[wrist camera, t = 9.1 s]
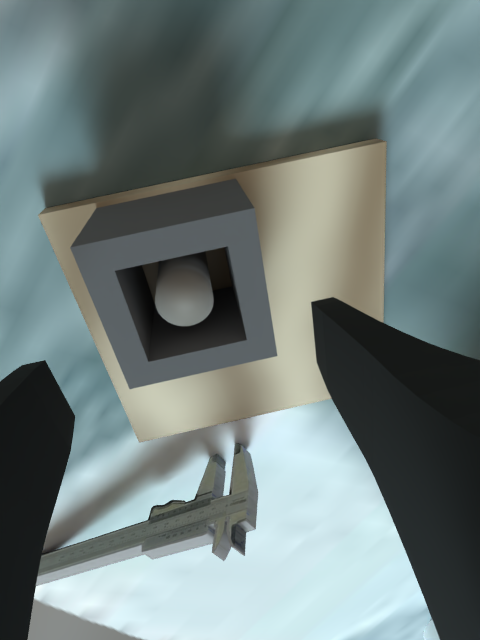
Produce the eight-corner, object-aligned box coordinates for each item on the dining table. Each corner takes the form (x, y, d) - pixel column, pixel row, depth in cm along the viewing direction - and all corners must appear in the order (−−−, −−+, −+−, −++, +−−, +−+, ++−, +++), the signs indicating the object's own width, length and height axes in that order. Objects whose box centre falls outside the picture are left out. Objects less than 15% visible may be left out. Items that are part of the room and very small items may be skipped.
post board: (375, 138, 17) (444, 156, 12) (374, 375, 23) (418, 440, 19) (45, 208, 16) (-2, 251, 12) (140, 429, 23) (132, 507, 19)
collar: (235, 178, 16) (254, 207, 12) (256, 300, 19) (277, 355, 15) (96, 208, 16) (69, 247, 12) (139, 326, 19) (129, 389, 15)
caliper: (240, 436, 25) (258, 534, 19) (249, 446, 25) (269, 544, 20) (-5, 573, 28) (-48, 689, 23) (8, 579, 29) (-32, 693, 23)
